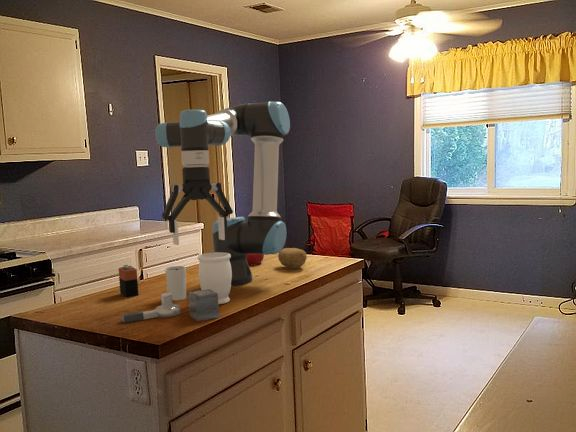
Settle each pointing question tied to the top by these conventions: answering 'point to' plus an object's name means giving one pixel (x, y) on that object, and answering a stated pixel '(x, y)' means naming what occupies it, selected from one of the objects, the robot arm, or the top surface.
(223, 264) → the jar
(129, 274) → the battery
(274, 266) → the top surface
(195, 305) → the grey rounded cube
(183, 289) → the white pillar candle
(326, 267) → the top surface
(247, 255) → the pomegranate
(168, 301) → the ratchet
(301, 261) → the potato
